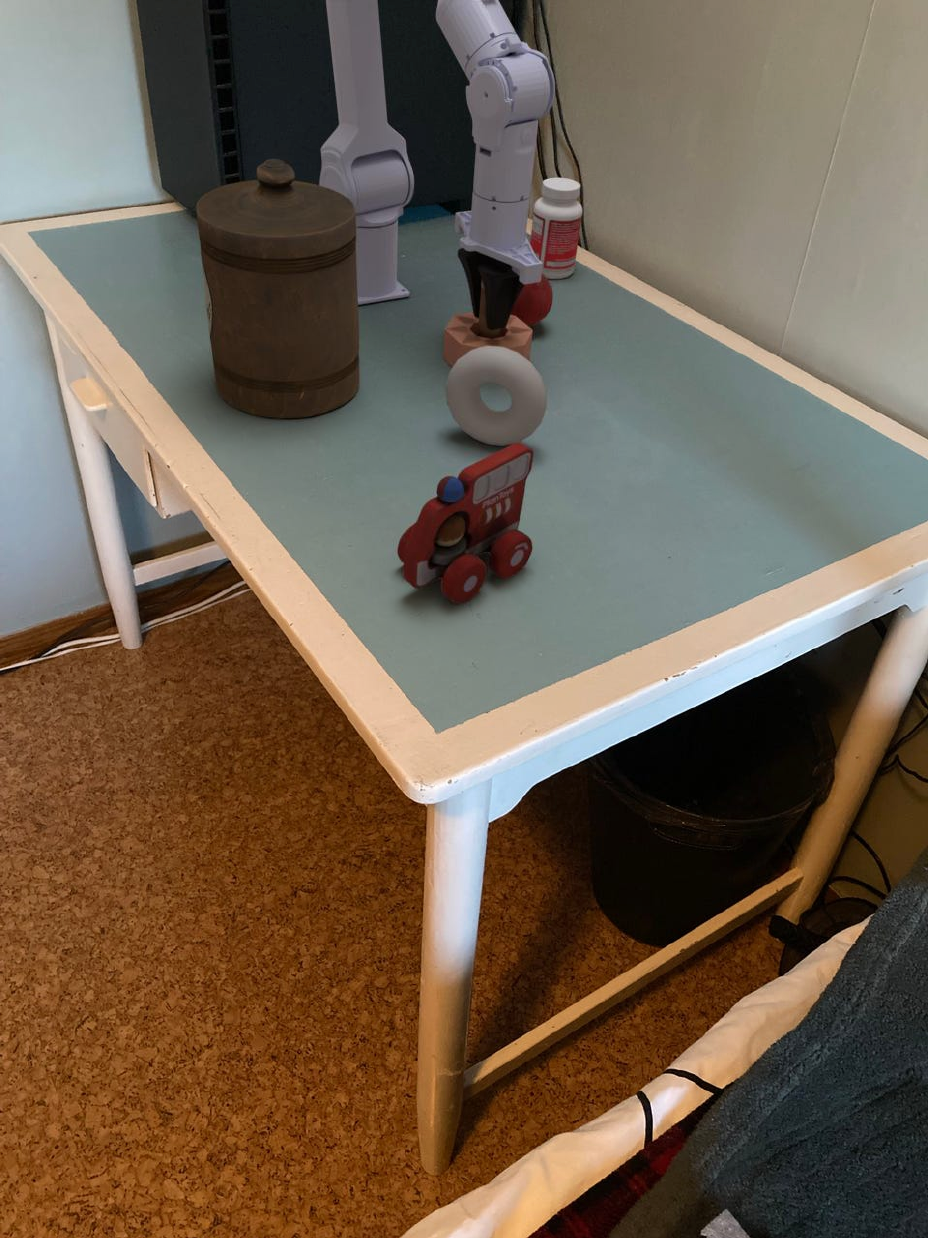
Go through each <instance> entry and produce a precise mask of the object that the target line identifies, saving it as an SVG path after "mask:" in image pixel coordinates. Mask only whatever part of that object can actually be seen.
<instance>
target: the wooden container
mask: <svg viewBox="0 0 928 1238" xmlns="http://www.w3.org/2000/svg"><path fill="white" fill-rule="evenodd" d="M295 177H296V175H295V171H294V170H293V168H292V166H291V165H289V164H287V163H285V162H284V160H281V159H279V158H270V159H266V160H265V161H264V162H263V163H261V164H259V165H258V166H257V168H256V178H257V179H253V180H245V181H244V180H243V181H238V182H233V183H232V182H231V183H229V184H225V185H221V186H219V187H216V188H214V189H212V190H210V191H208V192H207V193H205V194H203V195H202V196H201V197H200V198H199V200H198V201H197V203H196V205H195V206H196V219H197V221H196V222H197V230H198V237H199V242H200V254H201V264H202V265H201V266H202V275H203V286H204V294H205V295H204V296H205V298H204V299H205V308H206V317H207V328H208V334H209V342H210V349H211V355H212V364H213V365H212V366H213V370H214V372H213V373H214V380H215V386H216V389H217V392H218V394H219V395H220V397H221V398H222V399H223V400H224V401H225V402H227V403H228V405H229V404H230V406H232V407H233V408H236V409H238V410H240V411H243V412H246V413H248V414H251V415H255V416H259V417H260V416H261V417H266V418H274V419H275V418H276V419H277V418H278V419H296V418H297V419H298V418H299V419H300V418H308V417H312V416H317V415H322V414H325V413H329V412H330V411H334V410H335V409H338V408H340V407H342V406H344V405H345V404H346V403H347V402H349V401H350V400H352V398H353V397H354V396H355V395H356V393H357V391H358V389H359V386H360V320H359V305H358V294H357V265H356V216H355V208H354V205H353V203H352V202H351V201H350V200H349V199H348V198H347V197H345V196H344V195H342V194H340V193H338V192H336V191H334V190H332V189H329V188H326V187H323V186H320V185H319V184H314V183H310V182H304V181H299V180H295Z"/></svg>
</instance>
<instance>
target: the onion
mask: <svg viewBox="0 0 928 1238" xmlns="http://www.w3.org/2000/svg"><path fill="white" fill-rule="evenodd" d="M553 293H554V292H553V287H552V285H551V283H550V281H549V280H548V278H546V277H545V276H544V275H543V274H542V275H541V281H540V282H535V283H529V284H526V285H525V286H524V288H523V289H522V291H521V292H520V294H519V296H518V298H517V300H516V302H515V305H514V307H513V310H512V312H511V315H513V316H516V317H517V318H519V319H520V320H521V321H522V322H523V323H525V324H526V325H527V326H528V327H529V328H531V327H533V326H535V325H537V324H539V323H540V322H541V321H543V320H544V319H545V318H547V317H548V314H550V312H551V309H552V306H553V298H554V296H553Z"/></svg>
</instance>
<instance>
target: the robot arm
mask: <svg viewBox="0 0 928 1238" xmlns="http://www.w3.org/2000/svg"><path fill="white" fill-rule="evenodd" d="M325 4H326V13H327V15H326V16H327V24H328V33H329V42H330V43H329V44H330V51H331V60H332V69H333V78H334V80H333V81H334V86H335V87H334V88H335V97H336V104H337V105H336V106H337V114H338V116H337V117H338V126H337V127H336V128H335V130H334V131H333V132H332V133H331V135H330V136H329V137H328V138H327V139H326V141H325V142H324V143H323V144H322V146H321V148H320V156H321V169H320V175H319V182H318V183H319V184H318V185H319V186H323V187H326V188H329V189H332V190H334V191H336V192H338V193H340V194H342V195H344V196H345V197H347V198H348V199H349V200H350V201H351V202H352V203H353V205H354V208H355V216H356V265H357V294H358V306H359V305H366V304H371V303H376V302H377V303H378V302H382V301H388V300H395V299H402V298H406V297H409V296H410V291H409V290H408V289H407V288H406V287H404V285H402V284H401V283H400V282H399V281H398V279H397V277H398V241H399V240H398V233H399V231H398V230H399V229H398V228H399V224H398V223H399V217H401V216H403V215H404V207H405V206H406V205H408V204H409V203H410V201H411V200H412V197H413V194H414V189H415V187H414V186H415V178H414V173H413V169H412V166H411V163H410V160H409V157H408V153H407V142H406V139H405V138H404V137H403V136H402V135H401V134H400V133H399V132H398V131H396V130H395V129H394V128H393V127H392V126H391V125H390V124H389V122H388V115H387V103H386V102H387V101H386V89H385V80H384V79H385V78H384V68H383V67H384V66H383V65H384V64H383V53H382V40H381V30H380V29H381V28H380V20H379V19H380V17H379V5H378V0H325ZM435 20H436V23H437V25H438V27H439V28H440V30H441V32H442V34H443V36H444V37H445V39H446V42H447V43H448V45H449V47H450V48H451V50H452V53H453V54H454V55H455V58H456V59H457V61H458V63H459V65H460V67H461V68H462V70H463V72H464V74H465V76H466V78H467V80H468V82H469V85H466V86H465V98H466V104H467V108H468V111H469V114H470V117H471V121H472V130H471V136H472V137H473V142H474V144H475V156H474V157H475V158H474V170H473V171H474V174H473V186H472V187H473V189H472V198H471V210H467V211H458V212H455V217H454V232H456V233H457V234H458V235H462V234H463V235H464V236H463V237H461V238H460V239H459V246H460V248H459V249H458V250H457V257H458V259H459V262H460V263H461V266H462V269H463V272H464V274H465V277H466V281H467V285H468V289H469V295H470V303H471V309H472V312H473V314H474V316H475V317H476V318H479V311H480V299H481V281H483V285H484V290H485V298H486V324H487V328H488V329H489V330H495V329H500V328H505V327H506V325H507V323H508V320H509V318H510V315H511V312H512V310H513V307H514V305H515V302H516V300H517V298H518V296H519V294H520V292H521V291H522V289H523V288H524V286H525V285H526V284H529V283H535V282H540V281H541V275H542V267H543V263H542V262H541V261H540V260H539V259H538V258H537V257H536V255H535V253H534V251H533V249H532V247H531V245H530V241H529V240H528V237H527V236H526V235H527V228H528V219H529V218H528V217H529V209H530V208H529V207H530V198H531V192H532V182H533V175H534V174H533V173H534V162H535V154H536V146H537V137H538V136H537V135H538V130H539V128H538V126H539V120H540V119H543V118H544V117H545V116H546V115H547V114H548V113H549V111H550V110H551V108H552V106H553V104H554V100H555V95H556V82H555V77H554V72H553V70H552V68H551V66H550V65H551V64H550V62H549V59H548V57H547V56H545V54H544V53H542V52H541V51H539V50H536V49H532V48H531V47H529V45H528V43H527V42H524V41H521V38H520V37H519V35H518V34H517V32H516V30H515V28H514V26H513V24H512V23H511V21H510V19H509V17H508V16H507V14H506V12H505V10H504V8H503V6H502V4H501V3H500V1H499V0H437V5H436V9H435Z"/></svg>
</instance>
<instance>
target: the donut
mask: <svg viewBox="0 0 928 1238" xmlns="http://www.w3.org/2000/svg"><path fill="white" fill-rule="evenodd" d="M543 380H544V379H543V378H542V375H541V373H540V372H539V371H538V370H537V369H536V367H535V366H534V364H533V363H532V362H531V361H530V360H529V361H528V360H527V359H526V358H524V357H523V356H522V355H521V354H519V353H517V352H515V351H512V350H510V349H507V348H505V347H497V346H484V347H480V348H476V349H473V350H471V351H469V352H468V353H467V354H465V355H464V356H462V357H461V358H459V359H458V360H457V362H456V363H455V365H454V366H453V368H452V367H451V369H450V370H449V373H448V376H447V381H446V385H445V398H446V404H447V407H448V409H449V412H450V414H451V417H452V418H453V421H455V423H456V424H457V425H458V427H460V428H459V429H461V430H462V431H463V432H465V433H466V434H467V435H468V436H470V437H471V438H472V439H474V440H476V441H479V442H481V443H484V444H486V445H489V446H498V447H501V446H502V447H503V446H504V447H505V446H506V447H507V446H510V445H512V444H514V443H517V442H519V443H521V442H522V441H524V440H526V439H528V438H529V437H531V436H532V435H533V434H534V433H535V431H536V430H537V429H538V428H539V427H540V426H541V424H542V422H543V419H544V416H545V414H546V413H545V412H546V410H547V407H548V405H547V404H548V403H547V389H546V386H545V384H544V381H543ZM490 383H492V384H493V383H494V384H497V385H500V386H501V387H502V388H504V390H506V391H507V393H508V394H509V395H510V398H511V403H510V406H509V407H508V408H507V409H506V410H496V409H493V408H491V407H490V406H488V405H487V404H486V403H485V402H484V400H483V399H482V395H481V390H482V387H483V386H484V385H485V384H490Z"/></svg>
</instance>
